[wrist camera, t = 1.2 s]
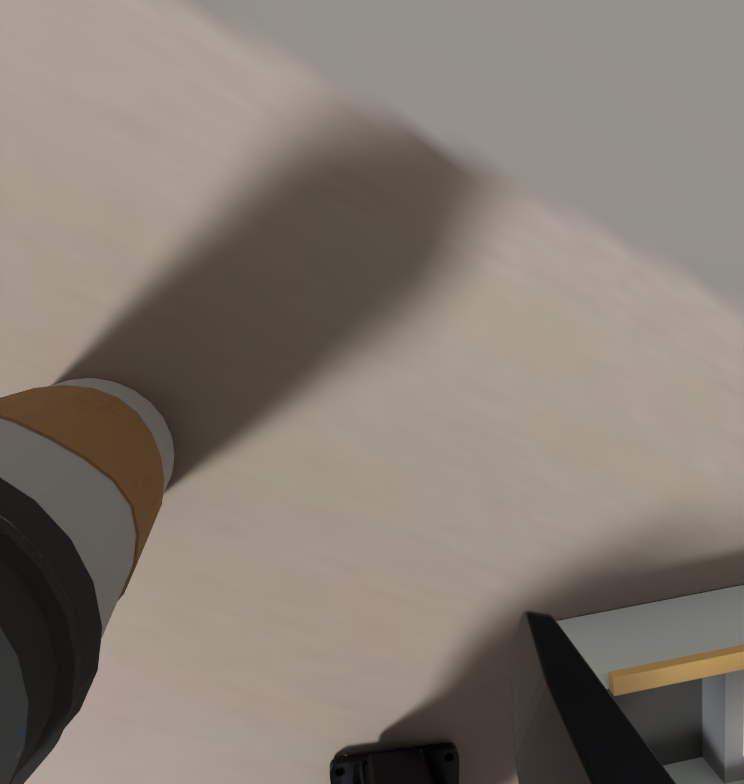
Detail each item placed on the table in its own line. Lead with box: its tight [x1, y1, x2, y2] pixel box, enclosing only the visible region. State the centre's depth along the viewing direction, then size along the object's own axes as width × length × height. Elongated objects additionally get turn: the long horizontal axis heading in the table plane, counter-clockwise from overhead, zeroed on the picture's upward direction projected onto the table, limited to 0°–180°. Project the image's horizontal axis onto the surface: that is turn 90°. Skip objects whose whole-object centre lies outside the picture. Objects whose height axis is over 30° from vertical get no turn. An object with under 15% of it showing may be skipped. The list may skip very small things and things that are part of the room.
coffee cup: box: [0, 378, 175, 784], centre depth 17 cm, size 8×8×15 cm
